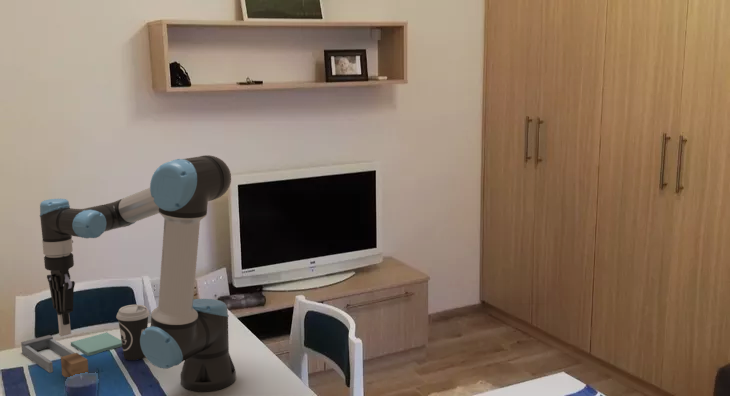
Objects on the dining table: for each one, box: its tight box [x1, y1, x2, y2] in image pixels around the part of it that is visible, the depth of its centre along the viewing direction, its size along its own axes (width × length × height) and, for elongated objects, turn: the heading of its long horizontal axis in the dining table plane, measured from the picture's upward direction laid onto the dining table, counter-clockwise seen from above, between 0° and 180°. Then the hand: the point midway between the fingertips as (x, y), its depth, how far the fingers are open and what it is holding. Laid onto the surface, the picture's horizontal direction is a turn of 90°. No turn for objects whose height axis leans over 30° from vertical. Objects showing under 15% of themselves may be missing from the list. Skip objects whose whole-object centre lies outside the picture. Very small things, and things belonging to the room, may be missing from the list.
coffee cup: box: [115, 304, 151, 361], centre depth 212 cm, size 10×10×15 cm
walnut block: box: [60, 352, 89, 378], centre depth 199 cm, size 7×4×6 cm, turn 46°
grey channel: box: [20, 334, 76, 374], centre depth 210 cm, size 20×8×4 cm, turn 46°
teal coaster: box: [70, 332, 122, 357], centre depth 221 cm, size 12×12×1 cm
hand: (65, 334), depth 201 cm, fingers closed
